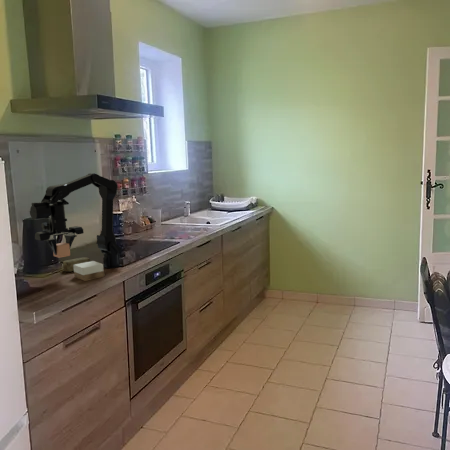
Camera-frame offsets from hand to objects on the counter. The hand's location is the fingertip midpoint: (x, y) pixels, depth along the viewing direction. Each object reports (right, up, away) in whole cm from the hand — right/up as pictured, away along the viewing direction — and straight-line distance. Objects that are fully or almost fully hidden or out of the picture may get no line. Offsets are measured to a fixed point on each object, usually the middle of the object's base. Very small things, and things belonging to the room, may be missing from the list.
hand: (61, 253), depth 193 cm
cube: (0, -1, 0) cm, 1 cm away
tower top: (+11, -8, +2) cm, 13 cm away
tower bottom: (+11, -11, +2) cm, 15 cm away
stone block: (+1, -9, +16) cm, 18 cm away
